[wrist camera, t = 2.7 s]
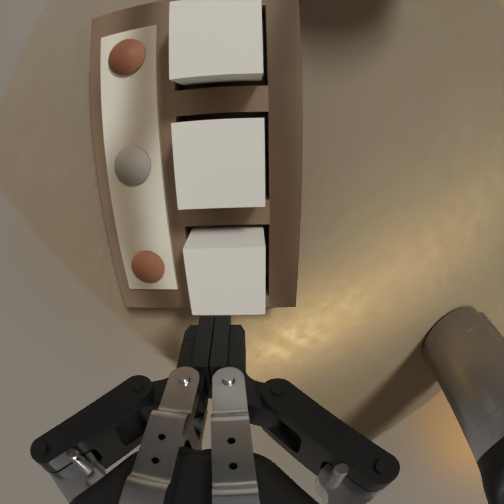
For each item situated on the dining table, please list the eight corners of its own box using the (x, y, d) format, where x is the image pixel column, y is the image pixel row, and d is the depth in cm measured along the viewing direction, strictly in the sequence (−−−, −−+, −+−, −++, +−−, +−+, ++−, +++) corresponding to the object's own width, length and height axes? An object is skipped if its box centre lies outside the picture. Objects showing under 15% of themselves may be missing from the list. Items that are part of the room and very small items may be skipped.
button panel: (290, 11, 17) (299, -10, 13) (289, 280, 27) (296, 310, 23) (114, 30, 17) (88, 17, 13) (139, 282, 27) (123, 310, 23)
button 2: (261, 117, 18) (264, 117, 15) (262, 191, 20) (265, 206, 17) (184, 121, 18) (171, 123, 15) (189, 193, 20) (177, 209, 17)
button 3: (259, 14, 15) (261, -6, 11) (260, 81, 17) (263, 73, 14) (182, 19, 15) (169, 1, 11) (183, 85, 17) (169, 79, 14)
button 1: (263, 225, 21) (265, 247, 18) (263, 286, 23) (265, 314, 20) (192, 227, 21) (182, 249, 18) (199, 287, 23) (192, 314, 20)
